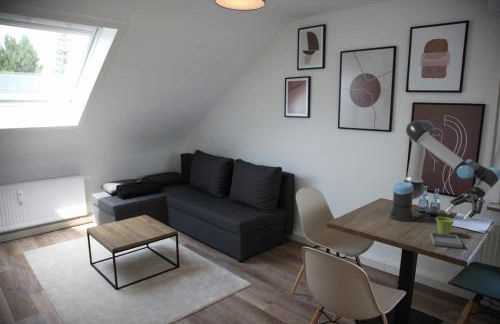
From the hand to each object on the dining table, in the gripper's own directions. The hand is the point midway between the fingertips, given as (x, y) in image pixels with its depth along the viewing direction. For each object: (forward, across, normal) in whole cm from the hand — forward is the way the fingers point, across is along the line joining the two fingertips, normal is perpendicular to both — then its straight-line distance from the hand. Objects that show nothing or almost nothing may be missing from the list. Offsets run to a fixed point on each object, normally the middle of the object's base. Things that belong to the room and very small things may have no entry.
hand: (455, 216), depth 200 cm
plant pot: (+11, +1, -3) cm, 12 cm away
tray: (+18, -11, +4) cm, 21 cm away
